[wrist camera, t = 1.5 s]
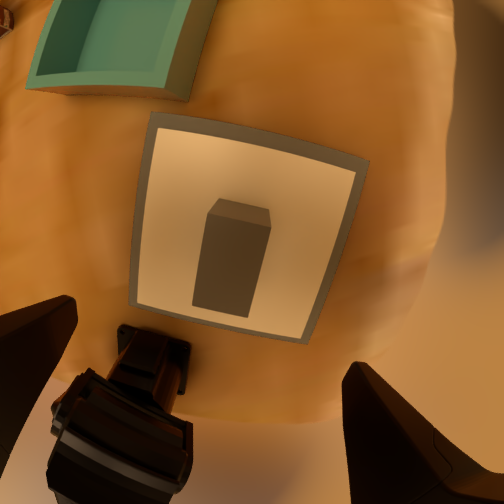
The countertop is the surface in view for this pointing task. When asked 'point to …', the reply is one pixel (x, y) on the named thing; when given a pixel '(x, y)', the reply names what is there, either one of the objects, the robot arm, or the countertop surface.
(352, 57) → the countertop surface
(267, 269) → the lid
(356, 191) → the mat
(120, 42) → the dish
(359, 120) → the countertop surface
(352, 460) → the robot arm
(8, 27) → the food container
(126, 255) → the countertop surface
